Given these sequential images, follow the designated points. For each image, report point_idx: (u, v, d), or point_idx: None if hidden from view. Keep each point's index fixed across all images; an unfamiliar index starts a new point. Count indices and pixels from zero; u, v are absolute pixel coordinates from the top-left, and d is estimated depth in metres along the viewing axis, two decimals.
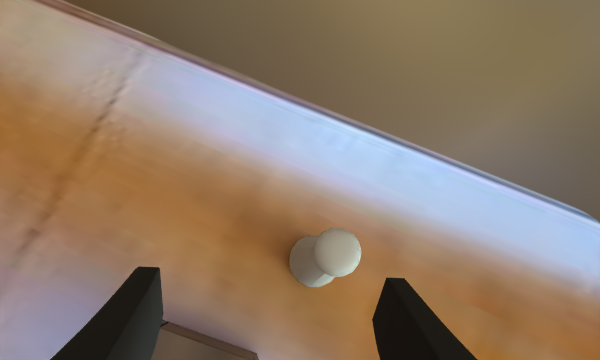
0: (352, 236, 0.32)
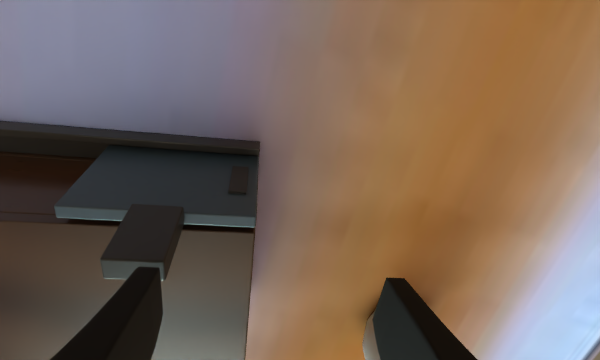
0: None
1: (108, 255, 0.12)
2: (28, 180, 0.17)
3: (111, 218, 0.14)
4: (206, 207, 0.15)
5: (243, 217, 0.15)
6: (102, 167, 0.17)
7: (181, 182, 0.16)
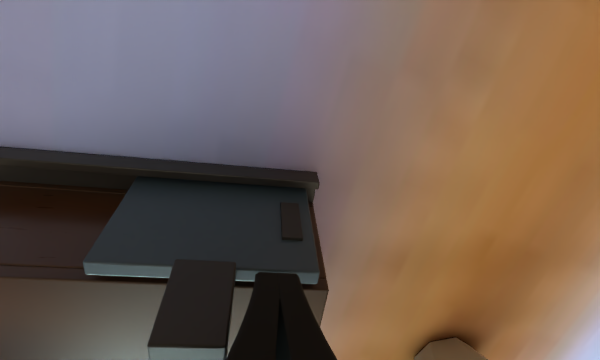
0: None
1: (157, 339, 0.09)
2: (61, 221, 0.14)
3: (150, 275, 0.12)
4: (260, 260, 0.13)
5: (305, 273, 0.13)
6: (133, 206, 0.14)
7: (226, 225, 0.14)
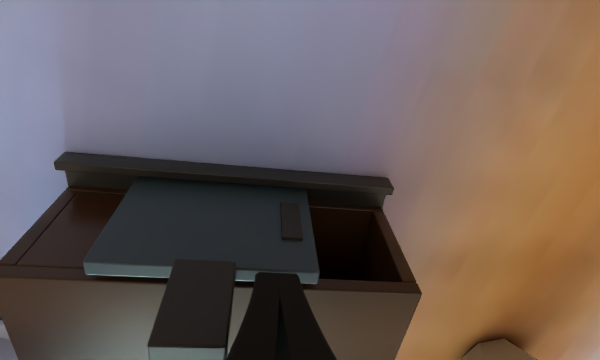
0: None
1: (157, 339, 0.09)
2: None
3: (150, 275, 0.12)
4: (260, 260, 0.13)
5: (305, 273, 0.13)
6: (133, 206, 0.14)
7: (226, 225, 0.14)
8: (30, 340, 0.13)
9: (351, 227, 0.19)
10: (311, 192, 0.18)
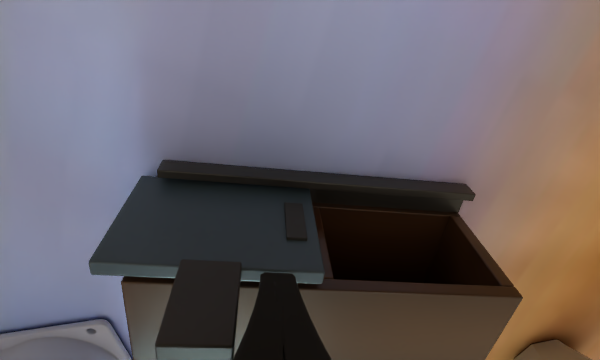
0: None
1: (164, 339, 0.09)
2: None
3: (155, 275, 0.12)
4: (265, 260, 0.13)
5: (310, 273, 0.13)
6: (138, 206, 0.14)
7: (231, 225, 0.14)
8: (149, 342, 0.14)
9: (428, 232, 0.19)
10: (393, 198, 0.18)
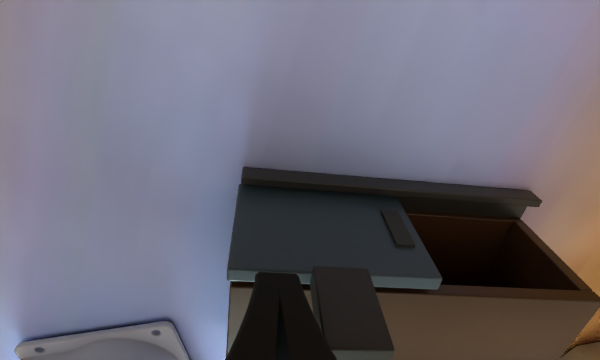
0: None
1: (332, 343, 0.10)
2: None
3: None
4: (385, 266, 0.13)
5: (429, 279, 0.13)
6: (249, 213, 0.15)
7: (340, 233, 0.15)
8: None
9: (491, 237, 0.20)
10: (460, 203, 0.19)
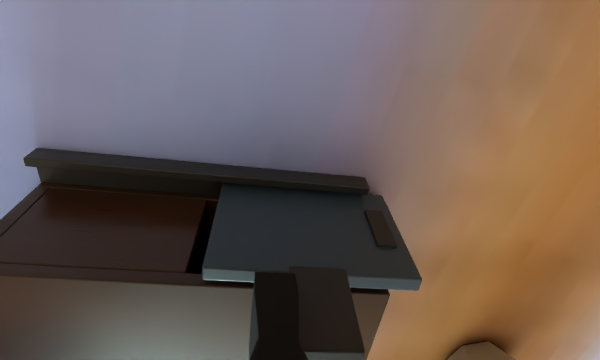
0: None
1: (301, 344, 0.10)
2: (123, 224, 0.15)
3: None
4: (364, 267, 0.13)
5: (409, 280, 0.13)
6: (230, 212, 0.15)
7: (321, 232, 0.15)
8: None
9: None
10: None
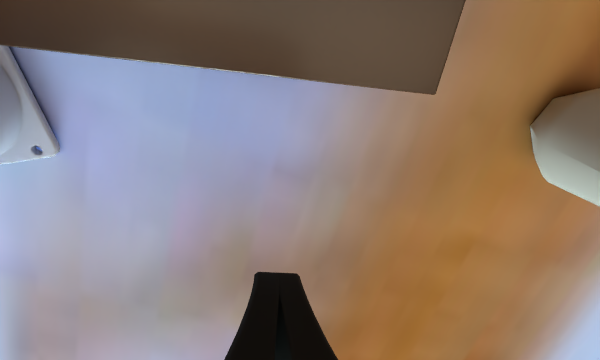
0: None
1: None
2: None
3: None
4: None
5: None
6: None
7: None
8: None
9: None
10: None
